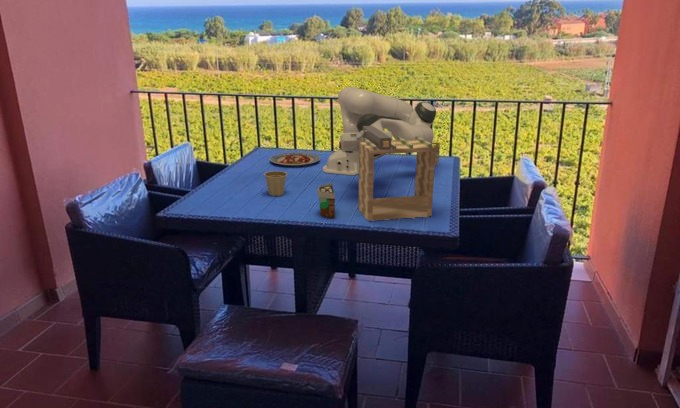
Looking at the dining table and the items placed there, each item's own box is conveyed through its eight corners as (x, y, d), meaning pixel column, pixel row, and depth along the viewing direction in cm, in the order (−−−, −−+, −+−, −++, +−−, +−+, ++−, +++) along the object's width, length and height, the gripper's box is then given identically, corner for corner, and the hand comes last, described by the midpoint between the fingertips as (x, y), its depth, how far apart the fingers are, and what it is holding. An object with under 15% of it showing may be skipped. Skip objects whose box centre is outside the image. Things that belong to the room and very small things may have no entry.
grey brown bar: (362, 136, 198) (362, 126, 197) (372, 136, 199) (372, 125, 197) (380, 150, 176) (380, 138, 174) (391, 149, 177) (392, 138, 175)
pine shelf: (358, 208, 197) (359, 138, 188) (417, 204, 202) (421, 135, 193) (368, 221, 184) (369, 146, 176) (431, 217, 189) (436, 143, 180)
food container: (316, 208, 198) (316, 183, 194) (332, 208, 198) (332, 183, 195) (317, 220, 186) (317, 193, 183) (335, 219, 186) (335, 193, 183)
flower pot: (291, 191, 217) (290, 172, 215) (281, 198, 209) (281, 178, 206) (271, 189, 220) (270, 170, 218) (261, 196, 212) (260, 175, 209)
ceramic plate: (275, 155, 279) (275, 150, 278) (323, 157, 277) (323, 151, 276) (264, 168, 255) (264, 162, 254) (316, 169, 253) (316, 163, 252)
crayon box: (436, 163, 263) (438, 141, 259) (438, 165, 260) (440, 142, 256) (422, 164, 262) (424, 141, 258) (424, 165, 259) (426, 143, 255)
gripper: (388, 150, 208) (398, 139, 195) (338, 152, 204) (345, 141, 191) (386, 135, 210) (396, 123, 196) (336, 137, 205) (343, 125, 192)
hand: (370, 132), depth 194 cm, fingers closed on grey brown bar, 4 cm apart
